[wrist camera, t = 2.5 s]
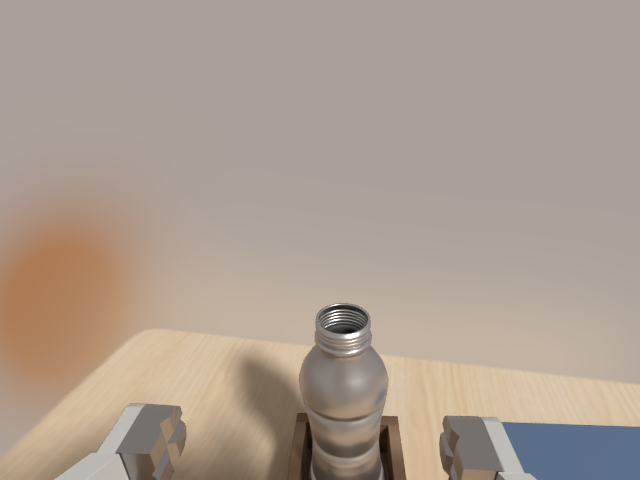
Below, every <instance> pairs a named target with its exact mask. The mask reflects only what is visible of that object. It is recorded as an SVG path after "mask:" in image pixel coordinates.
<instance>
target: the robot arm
mask: <svg viewBox="0 0 640 480" xmlns="http://www.w3.org/2000/svg"><path fill="white" fill-rule="evenodd" d="M181 415H182V411H181V408H180V406H171V405H156V404H139V403H131V404H130V405H129V406H127V407H126V408H125V410H124V412H123V413H122V415H121V416H120V418H119V419H118V421H117V422H116V424H115V425H114V427H113V428H112V430H111V431H110V433H109V434H108V436H107V437H106V439H105V440H104V442H103V443H102V445H101V446H100V448H99V449H98V451H97V452H92V453H90V454H89V455H87V456H86V457H85V458H83V459H82V460H80V461H79V462H78V463H76V464H75V465H73V466H72V467H71V468H69V469H68V470H67V471H65V472H64V473H62V474H61V475H60V476H58V477H57V478H55V479H54V480H170V479H171V477H172V474H173V472H174V470H173V466H172V463H173V462H174V461H176V460H177V459H178V458H179V457H180V456H181V453H182V451H183V448H184V445H185V440H186V426H185V423H184V422H183V421H181V420H180V417H181ZM443 428H444V432H443V433H442V434H440V441H439V446H440V457H441V462H442V466H443V470H444V471H445V472H446V473H447V474H448V475H449V479H448V480H537V479H536V478H534V477H533V476H532V475H531V474H529V473H524V471H523V469H522V466H521V464H520V462H519V460H518V458H517V456H516V453H515V451H514V449H513V447H512V445H511V443H510V440H509V438H508V436H507V434H506V432H505V430H504V427H503V425H502V423H501V421H500V420H499V419H498V418H495V417H478V416H445V417H444V419H443Z"/></svg>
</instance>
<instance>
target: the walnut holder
mask: <svg viewBox="0 0 640 480" xmlns="http://www.w3.org/2000/svg"><path fill="white" fill-rule="evenodd" d="M312 446H313V439H312V434H311V428H310V421H309V418H308V414H307V413H297V420H296V426H295V433H294V439H293V446H292V452H291V458H290V465H289V471H288V478H287V480H305V477H306V468H307V459H308V449H312ZM379 448H380V452H387V459H388V469H389V480H406V474H405V467H404V460H403V452H402V445H401V438H400V431H399V424H398V417H397V416H382V417H381V423H380V433H379Z"/></svg>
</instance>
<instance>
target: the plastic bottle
mask: <svg viewBox="0 0 640 480" xmlns="http://www.w3.org/2000/svg"><path fill="white" fill-rule="evenodd" d="M370 323H371V321H370V316H369V314H368V313H367V311H366V310H364V309H363V308H361V307H359V306H357V305H353V304H347V303H339V304H333V305H330V306H327V307H325V308H323V309H322V310H320V311H319V313H318V314H317V317H316V331H315V343H316V345H315V346H314V347H313V348H312V350H311V351H310V352H309V353H308V355H307V356H306V357H305V359H304V361H303V364H302V367H301V370H300V374H299V384H300V389H301V395H302V398H303V401H304V405H305V408H306V411H307V414H308V418H309V421H310V428H311V434H312V439H313V446H312V461H311V465H310V473H309V480H385V475H384V469H383V465H382V462H381V458H380V448H379V433H380V423H381V417H382V413H383V409H384V405H385V401H386V396H387V390H388V380H389V379H388V374H387V371H386V368H385V365H384V363H383V361H382V359H381V358H380V356H379V355H378V354H377V352H376V351H375V350H374V349H373V348H372V346H371V338H372V335H371V331H370V325H371V324H370Z"/></svg>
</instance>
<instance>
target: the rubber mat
mask: <svg viewBox="0 0 640 480" xmlns="http://www.w3.org/2000/svg"><path fill="white" fill-rule="evenodd" d="M501 423H502V425H503V427H504V430H505V432H506V434H507V436H508V438H509V440H510V443H511V445H512V447H513V449H514V451H515V453H516V456H517V458H518V460H519V462H520V464H521V466H522V469H523V471H524V473H529V474H531V475H532V476H533V477H534V478H536V479H537V480H640V427H622V426H593V425H565V424H536V423H507V422H501Z"/></svg>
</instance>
